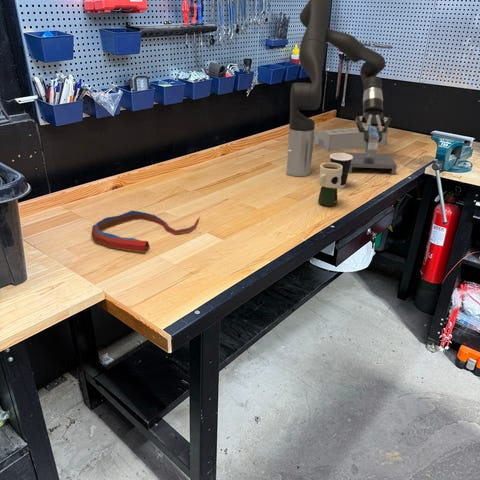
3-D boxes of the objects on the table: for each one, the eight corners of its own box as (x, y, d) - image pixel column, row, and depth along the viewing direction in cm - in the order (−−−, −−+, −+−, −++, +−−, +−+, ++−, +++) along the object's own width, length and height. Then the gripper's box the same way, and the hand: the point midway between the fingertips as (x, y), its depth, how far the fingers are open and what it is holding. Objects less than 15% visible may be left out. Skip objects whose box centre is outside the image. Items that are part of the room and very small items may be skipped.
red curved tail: (166, 205, 150) (164, 191, 148) (214, 222, 137) (213, 207, 134) (81, 240, 130) (78, 224, 128) (128, 264, 116) (125, 246, 114)
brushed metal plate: (347, 173, 177) (348, 163, 175) (343, 161, 189) (344, 152, 187) (395, 174, 175) (396, 164, 173) (388, 163, 188) (389, 153, 186)
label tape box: (376, 158, 176) (381, 126, 170) (365, 157, 176) (370, 125, 170) (374, 151, 183) (379, 120, 178) (364, 150, 184) (368, 120, 178)
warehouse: (367, 137, 223) (370, 122, 220) (385, 145, 211) (388, 129, 208) (313, 143, 214) (314, 127, 210) (328, 152, 202) (330, 135, 199)
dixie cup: (323, 182, 167) (326, 153, 162) (343, 180, 169) (346, 152, 164) (332, 190, 161) (335, 160, 155) (353, 188, 162) (357, 158, 157)
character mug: (327, 211, 145) (331, 172, 139) (308, 205, 149) (312, 167, 143) (345, 202, 152) (350, 164, 145) (327, 196, 156) (331, 159, 150)
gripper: (388, 108, 183) (389, 146, 178) (352, 107, 184) (352, 145, 180) (393, 97, 176) (394, 137, 171) (356, 96, 177) (356, 135, 172)
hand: (373, 141), depth 175 cm, fingers closed on label tape box, 4 cm apart
